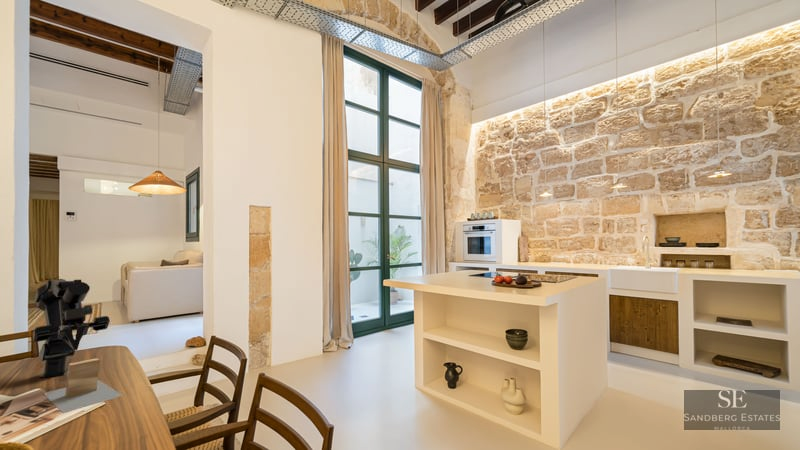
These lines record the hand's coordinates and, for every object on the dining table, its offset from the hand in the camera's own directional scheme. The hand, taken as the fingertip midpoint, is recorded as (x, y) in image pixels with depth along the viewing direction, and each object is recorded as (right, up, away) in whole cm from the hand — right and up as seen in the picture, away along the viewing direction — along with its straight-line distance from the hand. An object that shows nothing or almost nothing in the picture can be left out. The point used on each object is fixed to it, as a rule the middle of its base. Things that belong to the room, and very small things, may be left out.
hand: (75, 349), depth 112 cm
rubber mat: (+8, -13, -6) cm, 16 cm away
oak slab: (+7, -12, -5) cm, 15 cm away
